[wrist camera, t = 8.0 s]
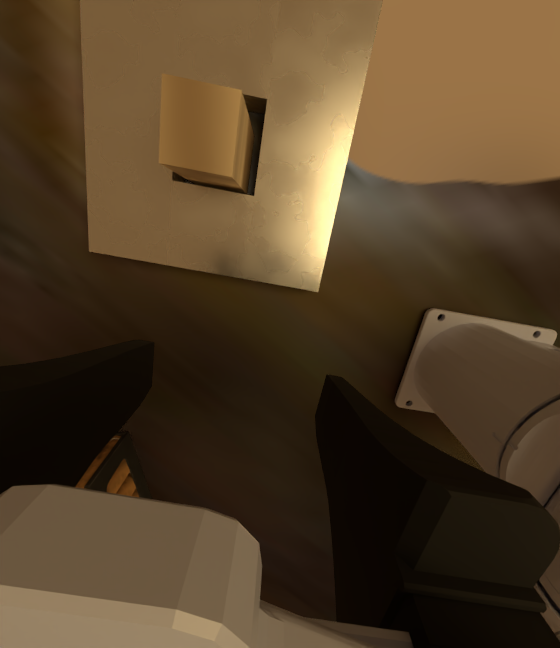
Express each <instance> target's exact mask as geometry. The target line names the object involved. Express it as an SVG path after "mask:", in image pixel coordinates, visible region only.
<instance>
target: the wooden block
mask: <svg viewBox="0 0 560 648" xmlns="http://www.w3.org/2000/svg"><path fill="white" fill-rule="evenodd" d="M254 137H255V136H254V133H253V129H252V125H251V122H250V118H249V115H248V111H247V107H246V104H245V100H244V97H243V93H242V90H239V89H235V88H230V87H225V86H220V85H216V84H211V83H206V82H201V81H197V80H192V79H187V78H182V77H177V76H173V75H168V74H163V73H162V85H161V114H160V142H159V163H160V164H161V165H163V166H165V167H167V168H168V169H170V170H172V171H173V172H175V173H177V174H179V175H180V176H182V177H184V178H185V179H187V180H189V181H191V182H192V183H194V184H196V185H200V186H205V187H210V188H216V189H221V190H226V191H231V192H236V193H242V194H247V192H248V184H249V176H250V168H251V160H252V152H253V145H254Z"/></svg>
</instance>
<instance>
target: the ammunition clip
mask: <svg viewBox="0 0 560 648" xmlns="http://www.w3.org/2000/svg"><path fill="white" fill-rule="evenodd" d="M76 487H77V488H83V489H89V490H96V491H102V492H108V493H115V494H121V495H127V496H134V497H140V498H146V499H152V497H151V494H150V492H149V489H148V486H147V483H146V480H145V477H144V474H143V472H142V469H141V466H140V463H139V460H138V457H137V454H136V452H135V449H134V446H133V443H132V440H131V437H130V435H129V432H121V433H116V434H115V435H114V437H113V438H112V439H111V440H110V441H109V443H108V444H107V445H106V446H105V447H104V448H103V450H102V451H101V452H100V453H99V454H98V456H97V457H96V458H95V460H94V461H93V462H92V464H91V465H90V466H89V468H88V469H87V471H86V472H85V474H84V475H83V476H82V478H81V479H80V481H79V482H78V484H77V485H76Z"/></svg>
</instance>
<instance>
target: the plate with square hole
mask: <svg viewBox="0 0 560 648" xmlns="http://www.w3.org/2000/svg"><path fill="white" fill-rule="evenodd" d="M381 6H382V0H80V19H81V46H82V73H83V100H84V127H85V154H86V181H87V208H88V235H89V251H90V252H95V253H101V254H107V255H112V256H118V257H124V258H129V259H135V260H141V261H146V262H152V263H157V264H163V265H169V266H174V267H180V268H186V269H191V270H197V271H203V272H208V273H214V274H220V275H225V276H231V277H236V278H242V279H248V280H253V281H259V282H265V283H270V284H276V285H282V286H287V287H293V288H298V289H304V290H310V291H315V292H318V289H319V285H320V280H321V276H322V271H323V267H324V262H325V258H326V253H327V249H328V244H329V240H330V235H331V231H332V226H333V222H334V217H335V213H336V208H337V204H338V199H339V195H340V190H341V186H342V181H343V177H344V172H345V168H346V163H347V159H348V154H349V150H350V145H351V141H352V136H353V132H354V127H355V123H356V118H357V113H358V109H359V105H360V100H361V96H362V91H363V87H364V82H365V78H366V73H367V69H368V64H369V60H370V55H371V51H372V46H373V42H374V37H375V33H376V28H377V24H378V19H379V15H380V10H381ZM162 73H163V74H168V75H173V76H177V77H182V78H187V79H192V80H197V81H201V82H206V83H211V84H216V85H220V86H225V87H230V88H235V89H239V90H242V93H243V97H244V100H245V104H246V107H247V111H250V112H255V113H260V114H265V119H264V127H263V134H262V142H261V149H260V157H259V164H258V171H257V179H256V186H255V194H254V196H251V195H246V194H240V193H235V192H230V191H225V190H220V189H214V188H209V187H204V186H199V185H193V184H188V183H185V178H184V177H182V176H180V175H179V174H177V173H175V172H173V171H172V170H170V169H168V168H167V167H165V166H163V165H161V164H160V163H159V142H160V114H161V85H162Z"/></svg>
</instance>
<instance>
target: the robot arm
mask: <svg viewBox="0 0 560 648" xmlns="http://www.w3.org/2000/svg"><path fill="white" fill-rule="evenodd" d="M440 314H442V317H441V319H437V318H438V316H439V315H440ZM534 332H536V333H535V334H534ZM533 334H534V335H533ZM556 337H557V333H556V331H554V330H551V329H548V328H543V327H537V326H531V325H526V324H520V323H515V322H509V321H503V320H498V319H492V318H487V317H481V316H475V315H470V314H464V313H458V312H453V311H447V310H442V309H436V308H431V309H428V310H427V311H426V313H425V315H424V318H423V321H422V324H421V326H420V329H419V332H418V335H417V338H416V341H415V343H414V346H413V349H412V352H411V355H410V358H409V360H408V363H407V366H406V369H405V372H404V375H403V377H402V380H401V383H400V386H399V389H398V392H397V394H396V397H395V403H396V405H397V406H398V407H400V408H406V409H412V410H418V411H425V412H431V413H435V414H436V415H437V416H438V417H439V418H440V419H441V421H442V422H443V423H444V424H445V425H446V426H447V428H448V429H449V430H450V431H451V432H452V433H453V435H454V436H455V437H456V438H457V439H458V440H459V442H460V443H461V444H462V445H463V446H464V447H465V448H466V450H467V451H468V452H469V453H470V454H471V455H472V457H473V458H474V459H475V460H476V461H477V462H478V464H479V465H480V466H481V467H482V468H483V469H484V471H485V472H486V473H485V472H483V471H481V470H478V469H476V468H474V467H472V466H470V465H468V464H466V463H464V462H462V461H460V460H458V459H456V458H454V457H452V456H450V455H448V454H446V453H444V452H442V451H440V450H439V449H437V448H435V447H433V446H432V445H430V444H428V443H426V442H425V441H423V440H421V439H420V438H418V437H417V436H415V435H413V434H412V433H410V432H409V431H407V430H406V429H404V428H403V427H401V426H400V425H399V424H397V423H396V422H394V421H393V420H392V419H390V418H389V417H388V416H387V415H385V414H384V413H383V412H381V411H380V410H379V409H378V408H377V407H375V406H374V405H373V404H372V403H371V402H369V401H368V400H367V399H366V398H365V397H364V396H363V395H362V394H360V393H359V392H358V391H357V390H356V389H355V388H354V387H353V386H352V385H350V384H349V383H348V382H347V381H346V380H344V379H343V378H342V377H338V376H333V375H326V379H325V382H324V386H323V389H322V393H321V397H320V400H319V404H318V407H317V411H316V414H315V421H316V437H317V443H318V448H319V453H320V458H321V463H322V468H323V473H324V478H325V483H326V488H327V495H328V502H329V512H330V523H331V534H332V547H333V561H334V578H335V595H336V617H337V622H333V621H326V620H319V619H312V618H305V617H301V616H299V615H296V614H294V613H291V612H289V611H286V610H284V609H281V608H279V607H276V606H274V605H271V604H269V603H266V602H264V601H261V600H260V589H261V574H262V563H261V555H260V547H259V542H258V541H257V540H256V539H255V538H254V537H253V536H252V535H251V534H250V533H249V532H248V531H247V530H246V529H245V528H244V527H243V526H242V525H241V524H240V523H239V522H238V521H237V520H236V519H235V518H232V517H229V516H227V515H224V514H221V513H219V512H216V511H213V510H210V509H208V508H203V507H197V506H191V505H184V504H178V503H172V502H165V501H159V500H153V499H146V498H140V497H134V496H127V495H121V494H115V493H108V492H102V491H96V490H89V489H83V488H77V487H76V485H77V484H78V482H79V481H80V479H81V478H82V476H83V475H84V474H85V472H86V471H87V469H88V468H89V466H90V465H91V464H92V462H93V461H94V460H95V458H96V457H97V456H98V454H99V453H100V452H101V451H102V450H103V448H104V447H105V446H106V445H107V444H108V443H109V441H110V440H111V439H112V438H113V437H114V435H115V434H116V433H117V432H118V431H119V430H120V428H121V427H122V426H123V425H124V424H125V423H126V421H127V420H128V419H129V418H130V417H131V416H132V414H133V413H134V412H135V411H136V410H137V408H138V407H139V406H140V404H141V403H142V401H143V400H144V398H145V397H146V395H147V393H148V392H149V390H150V388H151V387H152V373H153V356H154V342H149V341H143V340H133V341H128V342H124V343H119V344H115V345H112V346H108V347H104V348H100V349H96V350H92V351H88V352H83V353H79V354H75V355H70V356H66V357H61V358H56V359H51V360H45V361H39V362H33V363H26V364H19V365H11V366H1V367H0V648H560V348H558V347H555V346H553V343H554V341H555V339H556ZM407 401H410V402H409V403H406V402H407Z"/></svg>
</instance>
